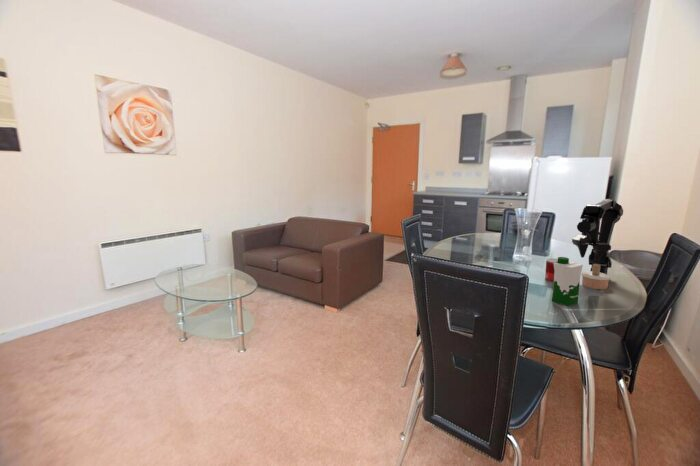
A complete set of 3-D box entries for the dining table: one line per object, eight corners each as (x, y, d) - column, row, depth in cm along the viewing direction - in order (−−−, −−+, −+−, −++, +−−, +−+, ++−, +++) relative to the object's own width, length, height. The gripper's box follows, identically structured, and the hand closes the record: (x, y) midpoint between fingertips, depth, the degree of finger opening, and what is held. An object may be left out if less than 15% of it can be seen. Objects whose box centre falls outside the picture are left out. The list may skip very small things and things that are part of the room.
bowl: (597, 282, 159) (598, 273, 158) (612, 289, 149) (613, 279, 148) (577, 282, 159) (578, 273, 158) (591, 290, 149) (592, 280, 149)
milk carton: (560, 297, 143) (564, 255, 139) (581, 304, 135) (586, 260, 131) (548, 300, 139) (551, 258, 136) (568, 308, 131) (573, 263, 128)
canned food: (557, 283, 160) (558, 263, 158) (541, 279, 167) (543, 259, 164) (565, 280, 163) (567, 260, 161) (550, 276, 170) (551, 257, 168)
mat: (586, 285, 155) (586, 284, 155) (608, 296, 142) (608, 295, 141) (558, 286, 156) (558, 285, 156) (576, 296, 142) (576, 296, 142)
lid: (598, 272, 158) (599, 261, 157) (615, 280, 148) (617, 268, 146) (576, 273, 159) (577, 262, 158) (591, 280, 148) (593, 268, 147)
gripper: (563, 227, 163) (560, 255, 166) (589, 234, 145) (586, 266, 148) (584, 226, 163) (581, 254, 166) (613, 233, 144) (610, 265, 147)
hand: (589, 259), depth 157 cm, fingers open, 9 cm apart
